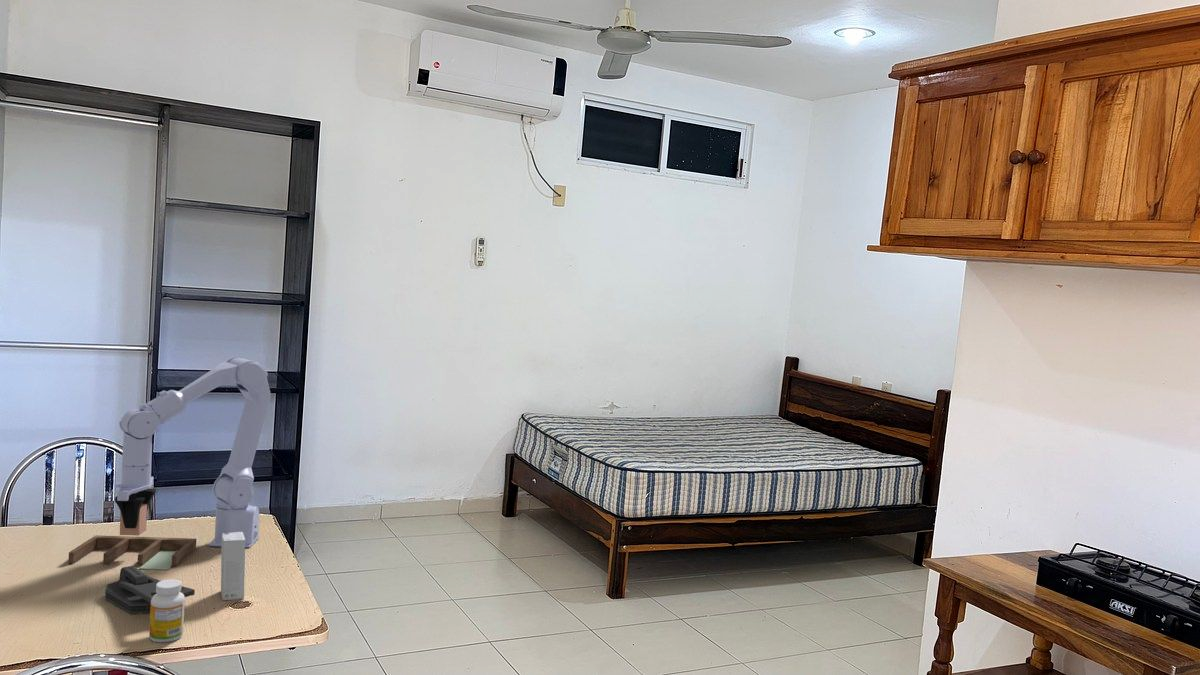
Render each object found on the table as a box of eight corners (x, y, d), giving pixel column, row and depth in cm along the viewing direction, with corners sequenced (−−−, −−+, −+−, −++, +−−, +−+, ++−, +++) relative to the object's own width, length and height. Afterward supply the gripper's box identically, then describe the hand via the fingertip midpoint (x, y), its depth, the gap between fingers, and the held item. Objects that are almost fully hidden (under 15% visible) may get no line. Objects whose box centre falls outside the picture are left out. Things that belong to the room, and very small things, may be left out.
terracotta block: (146, 530, 195) (147, 503, 195) (138, 535, 191) (139, 508, 191) (127, 529, 195) (128, 503, 194) (119, 535, 191) (120, 508, 191)
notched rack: (195, 549, 202) (196, 538, 202) (172, 570, 187) (173, 558, 187) (95, 546, 199) (95, 535, 199) (63, 567, 185) (64, 555, 185)
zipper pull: (148, 599, 154) (100, 561, 171) (147, 636, 154) (99, 595, 171) (200, 589, 160) (148, 553, 177) (198, 624, 161) (147, 585, 178)
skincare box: (244, 599, 174) (247, 539, 173) (220, 601, 172) (223, 541, 171) (242, 588, 180) (245, 530, 179) (218, 590, 178) (221, 532, 177)
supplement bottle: (156, 628, 157) (158, 576, 156) (187, 630, 157) (190, 578, 157) (143, 642, 152) (146, 588, 151) (176, 643, 152) (178, 590, 151)
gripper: (131, 456, 199) (129, 515, 200) (102, 470, 185) (100, 533, 185) (163, 458, 200) (161, 516, 201) (138, 472, 185) (135, 534, 186)
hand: (134, 524), depth 193 cm, fingers closed on terracotta block, 4 cm apart
